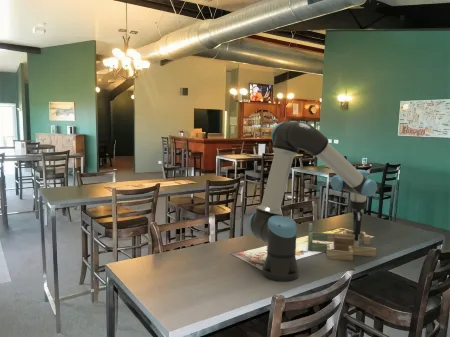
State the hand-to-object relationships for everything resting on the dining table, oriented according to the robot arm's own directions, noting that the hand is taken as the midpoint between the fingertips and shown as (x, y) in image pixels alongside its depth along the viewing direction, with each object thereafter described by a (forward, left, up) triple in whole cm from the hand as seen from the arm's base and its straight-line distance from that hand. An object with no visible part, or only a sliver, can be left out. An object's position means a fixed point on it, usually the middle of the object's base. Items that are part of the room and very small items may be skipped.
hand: (355, 246), depth 182 cm
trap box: (0, +8, -1) cm, 8 cm away
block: (0, +6, -1) cm, 6 cm away
